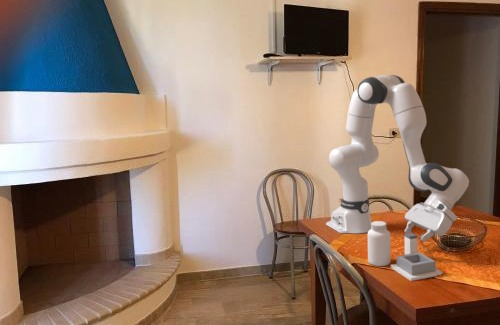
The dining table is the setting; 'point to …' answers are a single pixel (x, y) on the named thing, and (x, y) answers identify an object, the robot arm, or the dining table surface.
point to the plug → (410, 243)
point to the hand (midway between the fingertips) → (413, 236)
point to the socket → (416, 266)
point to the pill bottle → (379, 244)
